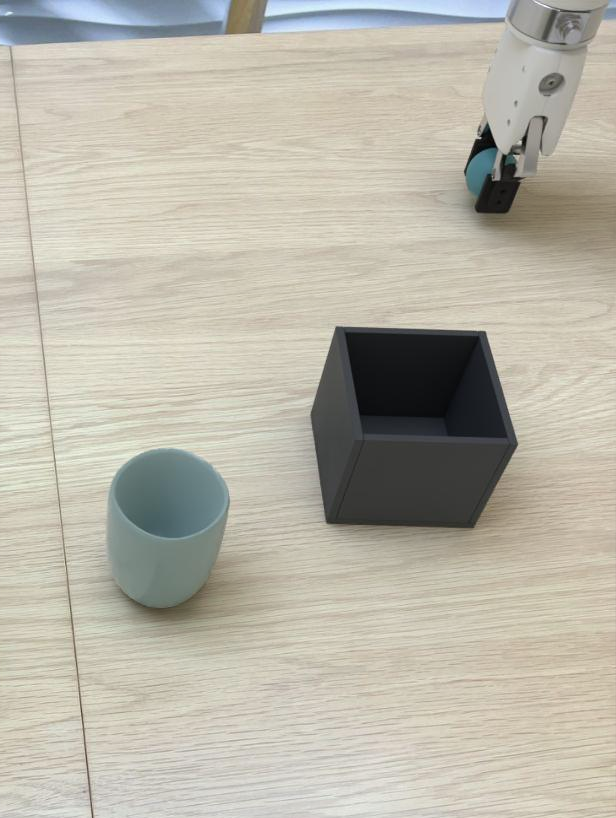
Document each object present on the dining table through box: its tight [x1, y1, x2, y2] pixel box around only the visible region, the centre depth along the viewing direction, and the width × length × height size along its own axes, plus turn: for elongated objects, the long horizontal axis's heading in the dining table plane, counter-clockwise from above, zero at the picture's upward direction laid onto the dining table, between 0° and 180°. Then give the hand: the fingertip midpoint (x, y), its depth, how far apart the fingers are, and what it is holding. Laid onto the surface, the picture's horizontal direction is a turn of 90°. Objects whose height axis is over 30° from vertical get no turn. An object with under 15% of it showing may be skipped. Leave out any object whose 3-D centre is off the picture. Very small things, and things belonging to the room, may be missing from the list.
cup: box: [105, 447, 231, 609], centre depth 75 cm, size 8×8×10 cm
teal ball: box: [465, 148, 518, 199], centre depth 104 cm, size 5×5×5 cm
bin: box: [310, 325, 519, 529], centre depth 82 cm, size 11×11×10 cm
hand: (485, 192), depth 106 cm, fingers closed on teal ball, 4 cm apart
